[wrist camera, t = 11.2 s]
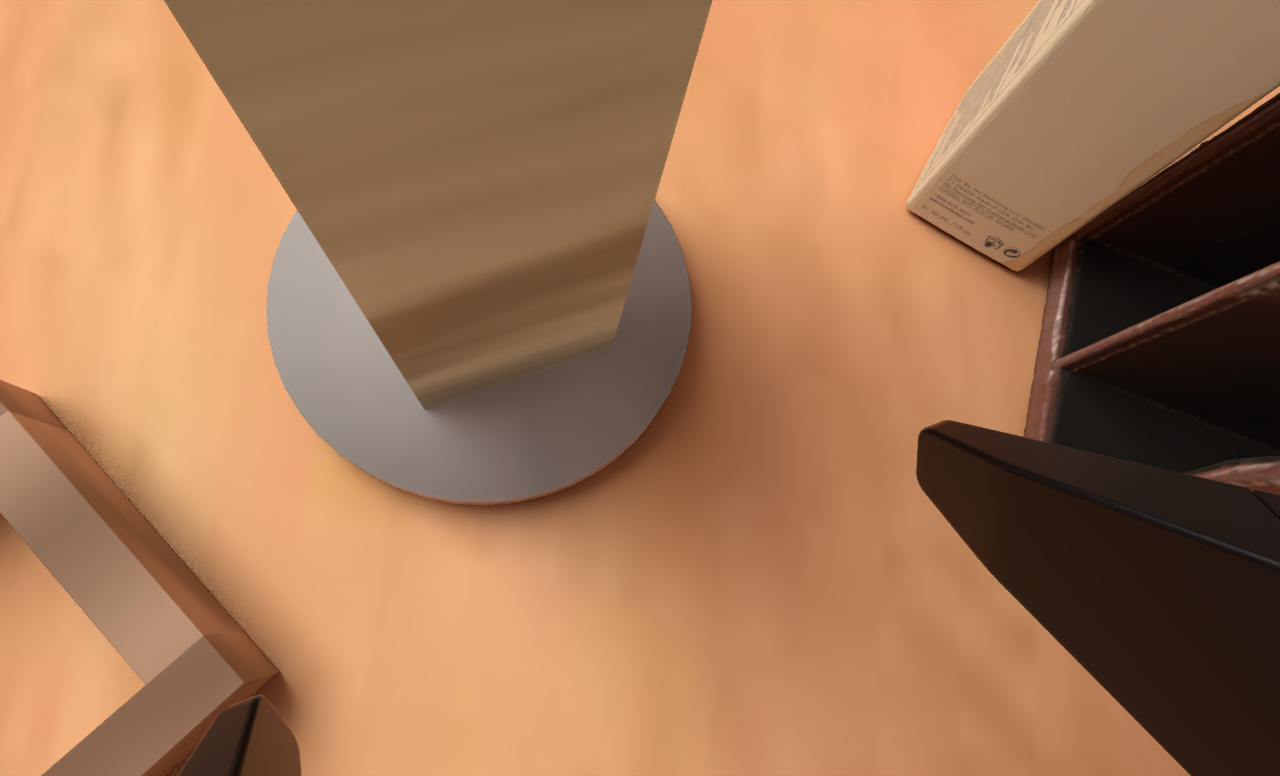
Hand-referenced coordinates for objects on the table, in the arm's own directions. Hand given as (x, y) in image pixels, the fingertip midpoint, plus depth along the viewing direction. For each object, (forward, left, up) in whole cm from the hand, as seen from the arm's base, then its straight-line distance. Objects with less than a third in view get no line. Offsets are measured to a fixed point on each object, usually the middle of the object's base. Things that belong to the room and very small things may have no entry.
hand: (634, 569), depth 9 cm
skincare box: (+9, -16, -9) cm, 21 cm away
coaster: (+8, +1, -9) cm, 12 cm away
